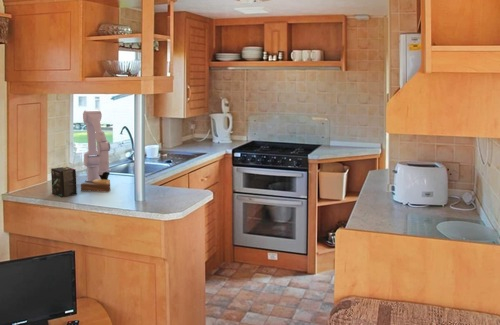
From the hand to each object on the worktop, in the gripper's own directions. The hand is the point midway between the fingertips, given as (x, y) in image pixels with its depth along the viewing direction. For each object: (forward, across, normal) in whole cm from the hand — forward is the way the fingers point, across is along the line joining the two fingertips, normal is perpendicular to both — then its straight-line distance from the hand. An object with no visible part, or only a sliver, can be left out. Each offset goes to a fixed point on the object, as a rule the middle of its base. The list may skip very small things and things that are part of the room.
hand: (104, 184), depth 299 cm
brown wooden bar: (+1, -10, +2) cm, 10 cm away
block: (+1, -5, 0) cm, 5 cm away
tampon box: (+2, -20, +16) cm, 26 cm away
